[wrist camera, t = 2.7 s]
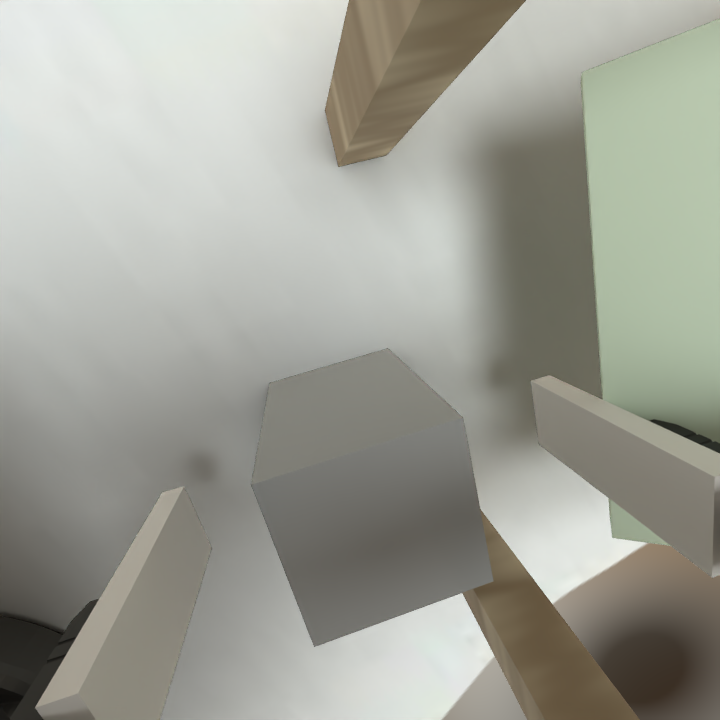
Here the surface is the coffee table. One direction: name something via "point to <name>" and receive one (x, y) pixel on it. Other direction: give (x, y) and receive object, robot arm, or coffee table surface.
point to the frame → (375, 139)
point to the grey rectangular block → (368, 494)
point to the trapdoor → (657, 234)
